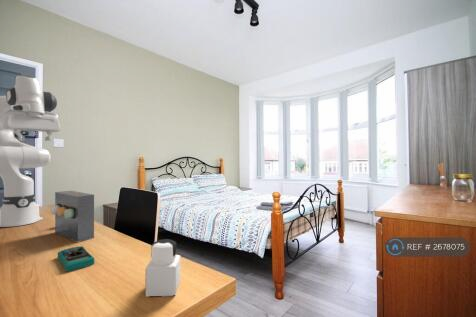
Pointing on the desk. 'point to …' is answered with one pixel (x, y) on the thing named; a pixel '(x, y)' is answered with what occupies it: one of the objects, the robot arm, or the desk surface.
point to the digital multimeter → (75, 258)
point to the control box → (83, 219)
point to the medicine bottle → (163, 269)
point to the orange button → (61, 211)
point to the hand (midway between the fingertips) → (35, 140)
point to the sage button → (69, 213)
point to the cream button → (55, 209)
